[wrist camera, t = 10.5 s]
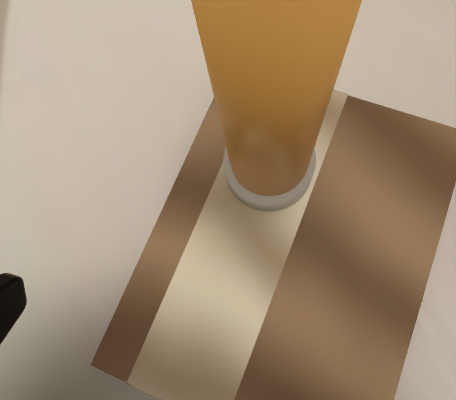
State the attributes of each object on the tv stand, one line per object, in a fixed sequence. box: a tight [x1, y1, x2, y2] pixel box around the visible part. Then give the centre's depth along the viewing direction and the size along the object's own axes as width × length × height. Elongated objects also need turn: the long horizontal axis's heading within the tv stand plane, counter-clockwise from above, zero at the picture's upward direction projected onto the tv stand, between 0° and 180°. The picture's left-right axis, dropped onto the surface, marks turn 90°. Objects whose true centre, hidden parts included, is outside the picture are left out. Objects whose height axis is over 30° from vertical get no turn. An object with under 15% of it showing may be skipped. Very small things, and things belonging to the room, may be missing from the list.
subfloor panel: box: [91, 90, 456, 400], centre depth 18 cm, size 16×12×1 cm
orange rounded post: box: [191, 0, 362, 211], centre depth 12 cm, size 4×4×13 cm
